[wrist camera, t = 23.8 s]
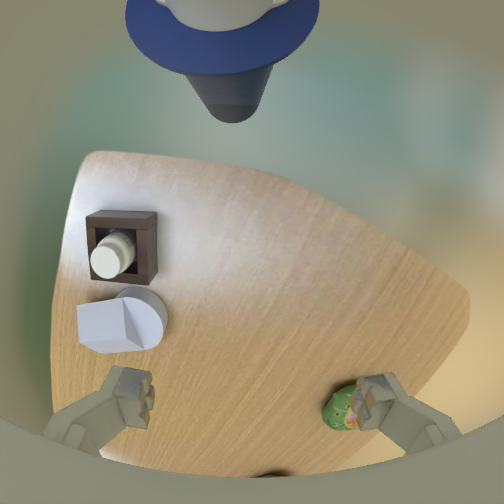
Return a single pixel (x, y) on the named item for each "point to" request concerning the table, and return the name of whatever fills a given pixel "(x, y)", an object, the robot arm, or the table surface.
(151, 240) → the socket
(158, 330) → the wedge on round base
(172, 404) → the table surface
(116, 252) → the pill bottle
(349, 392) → the educational model
